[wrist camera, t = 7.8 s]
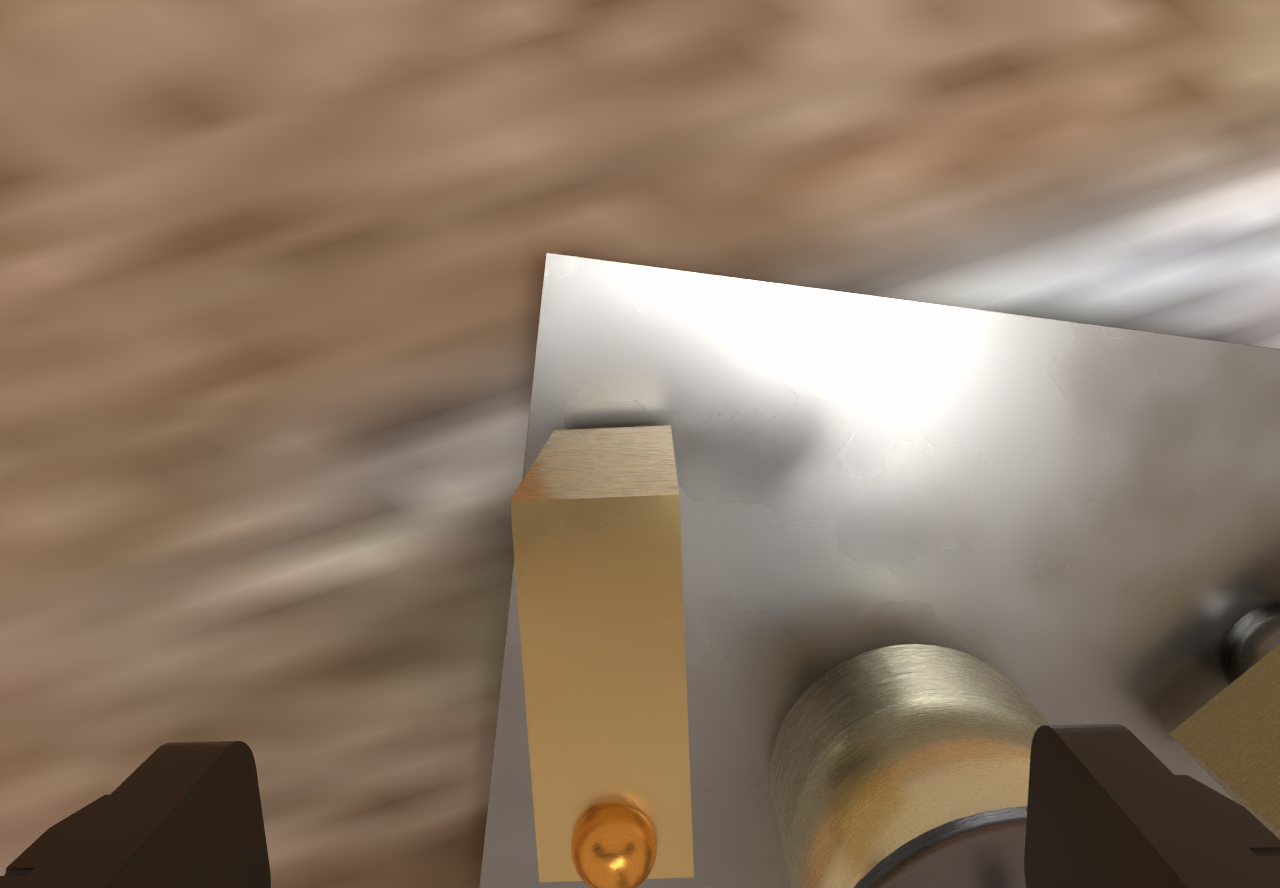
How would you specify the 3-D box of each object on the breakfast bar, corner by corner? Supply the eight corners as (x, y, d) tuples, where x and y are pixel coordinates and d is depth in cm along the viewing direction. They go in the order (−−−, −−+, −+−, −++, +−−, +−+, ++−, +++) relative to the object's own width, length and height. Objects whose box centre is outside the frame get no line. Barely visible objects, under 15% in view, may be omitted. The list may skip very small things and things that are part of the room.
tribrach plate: (1152, 1114, 23) (1480, 1666, 14) (473, 1032, 23) (354, 1538, 14) (1372, 362, 19) (2025, 444, 10) (557, 254, 19) (470, 238, 10)
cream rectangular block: (669, 415, 18) (680, 508, 11) (679, 674, 19) (696, 913, 12) (560, 419, 18) (500, 516, 11) (577, 677, 19) (532, 917, 12)
